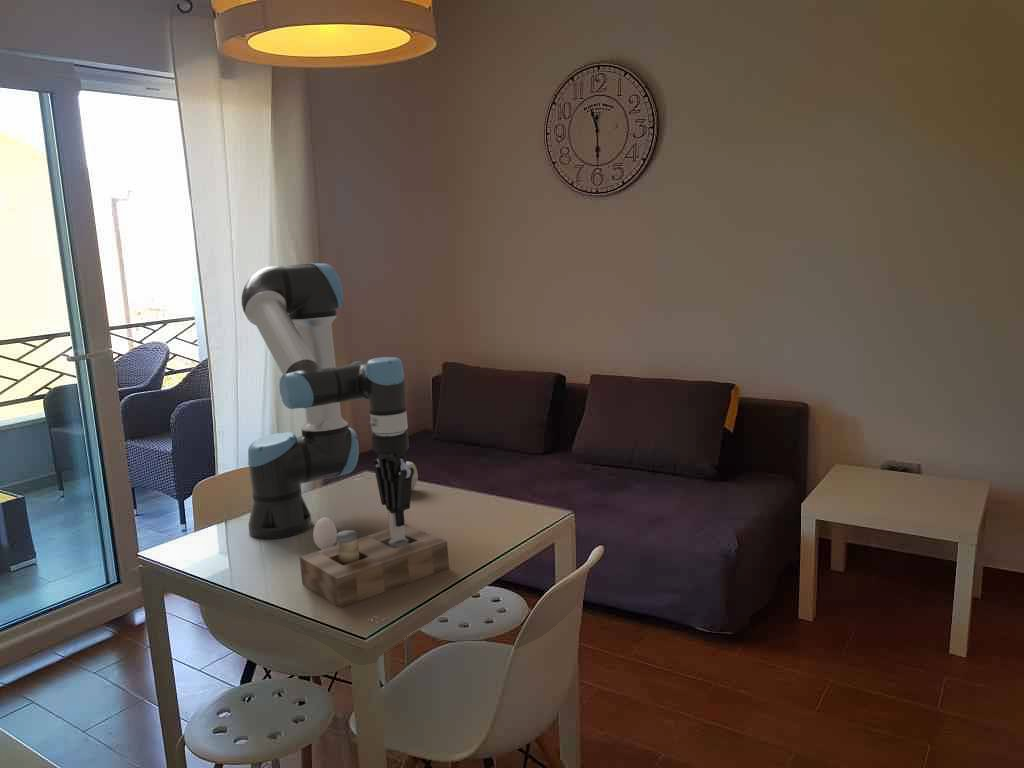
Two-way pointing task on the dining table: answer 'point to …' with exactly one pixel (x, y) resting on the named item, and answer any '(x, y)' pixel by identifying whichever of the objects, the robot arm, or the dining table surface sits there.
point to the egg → (324, 533)
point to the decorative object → (415, 475)
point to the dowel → (347, 547)
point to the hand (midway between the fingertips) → (398, 539)
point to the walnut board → (373, 566)
